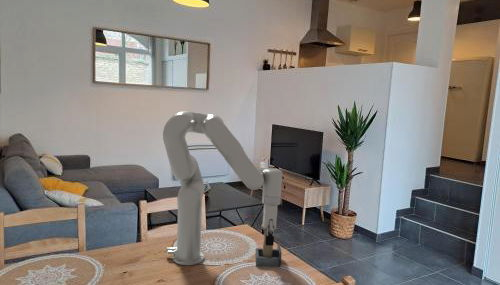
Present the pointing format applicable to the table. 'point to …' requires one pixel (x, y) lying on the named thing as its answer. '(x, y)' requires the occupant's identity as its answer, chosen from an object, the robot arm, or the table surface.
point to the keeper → (269, 258)
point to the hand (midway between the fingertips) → (268, 240)
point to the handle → (267, 248)
